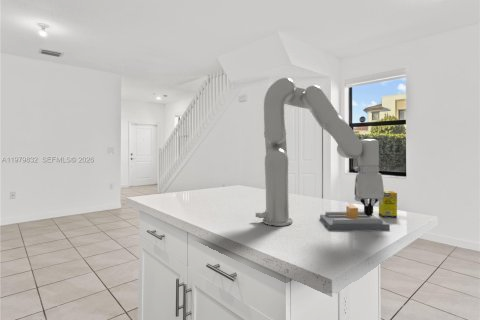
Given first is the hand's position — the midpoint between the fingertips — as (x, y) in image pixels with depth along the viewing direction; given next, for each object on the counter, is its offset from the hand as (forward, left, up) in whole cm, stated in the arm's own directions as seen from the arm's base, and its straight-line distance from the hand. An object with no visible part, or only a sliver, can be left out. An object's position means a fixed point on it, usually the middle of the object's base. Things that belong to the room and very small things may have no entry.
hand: (368, 215), depth 111 cm
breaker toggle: (-7, 0, -1) cm, 7 cm away
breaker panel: (-7, 0, -4) cm, 7 cm away
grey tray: (-7, 0, -2) cm, 7 cm away
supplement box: (+13, +13, -4) cm, 19 cm away
